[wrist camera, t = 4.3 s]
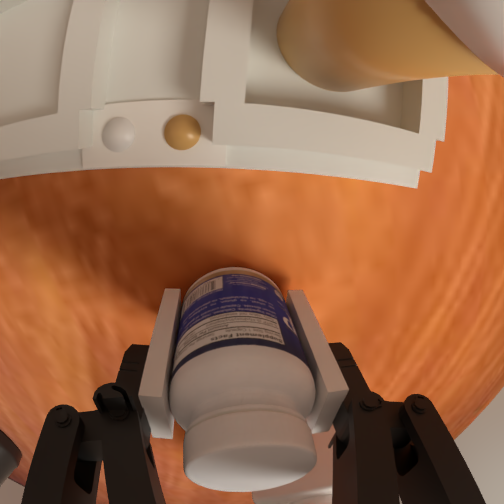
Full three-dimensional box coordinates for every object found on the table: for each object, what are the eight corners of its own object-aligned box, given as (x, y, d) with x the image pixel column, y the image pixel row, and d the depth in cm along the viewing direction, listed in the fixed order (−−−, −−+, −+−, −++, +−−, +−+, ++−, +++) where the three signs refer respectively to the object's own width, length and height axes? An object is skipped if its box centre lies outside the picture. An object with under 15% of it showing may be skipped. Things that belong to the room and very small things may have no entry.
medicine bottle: (254, 456, 23) (269, 565, 12) (243, 420, 20) (260, 563, 9) (328, 442, 23) (359, 546, 12) (334, 403, 20) (380, 536, 9)
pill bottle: (282, 343, 16) (322, 486, 8) (189, 350, 16) (182, 499, 8) (286, 259, 14) (358, 416, 6) (174, 266, 13) (136, 435, 5)
